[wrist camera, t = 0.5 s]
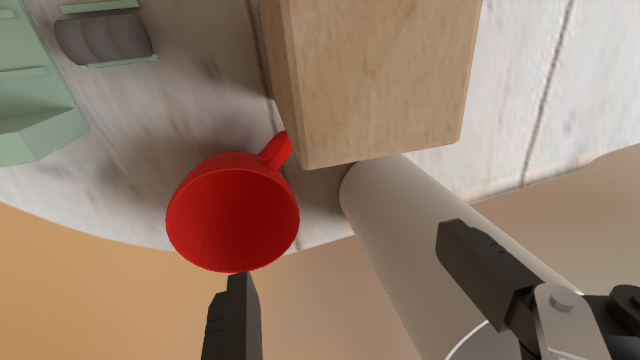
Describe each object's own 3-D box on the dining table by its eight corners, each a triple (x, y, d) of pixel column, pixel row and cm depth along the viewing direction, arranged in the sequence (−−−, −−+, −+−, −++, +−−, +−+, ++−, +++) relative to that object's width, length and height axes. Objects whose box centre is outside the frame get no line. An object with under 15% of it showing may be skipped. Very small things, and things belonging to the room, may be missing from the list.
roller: (66, 16, 24) (46, 25, 22) (137, 10, 25) (126, 17, 23) (90, 58, 27) (75, 70, 24) (155, 51, 28) (147, 61, 25)
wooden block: (273, 101, 32) (301, 175, 15) (256, 1, 27) (268, -59, 10) (354, 90, 34) (462, 145, 17) (351, -7, 29) (499, -71, 12)
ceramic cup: (324, 143, 36) (347, 176, 28) (256, 233, 40) (258, 287, 32) (235, 83, 30) (230, 102, 22) (167, 196, 35) (140, 249, 26)
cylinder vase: (325, 215, 42) (407, 405, 20) (356, 139, 37) (505, 283, 15) (393, 226, 46) (519, 394, 24) (428, 160, 41) (623, 295, 20)
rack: (61, 6, 24) (58, 5, 24) (137, -1, 25) (135, -2, 25) (91, 68, 27) (88, 68, 26) (159, 59, 28) (158, 60, 27)
